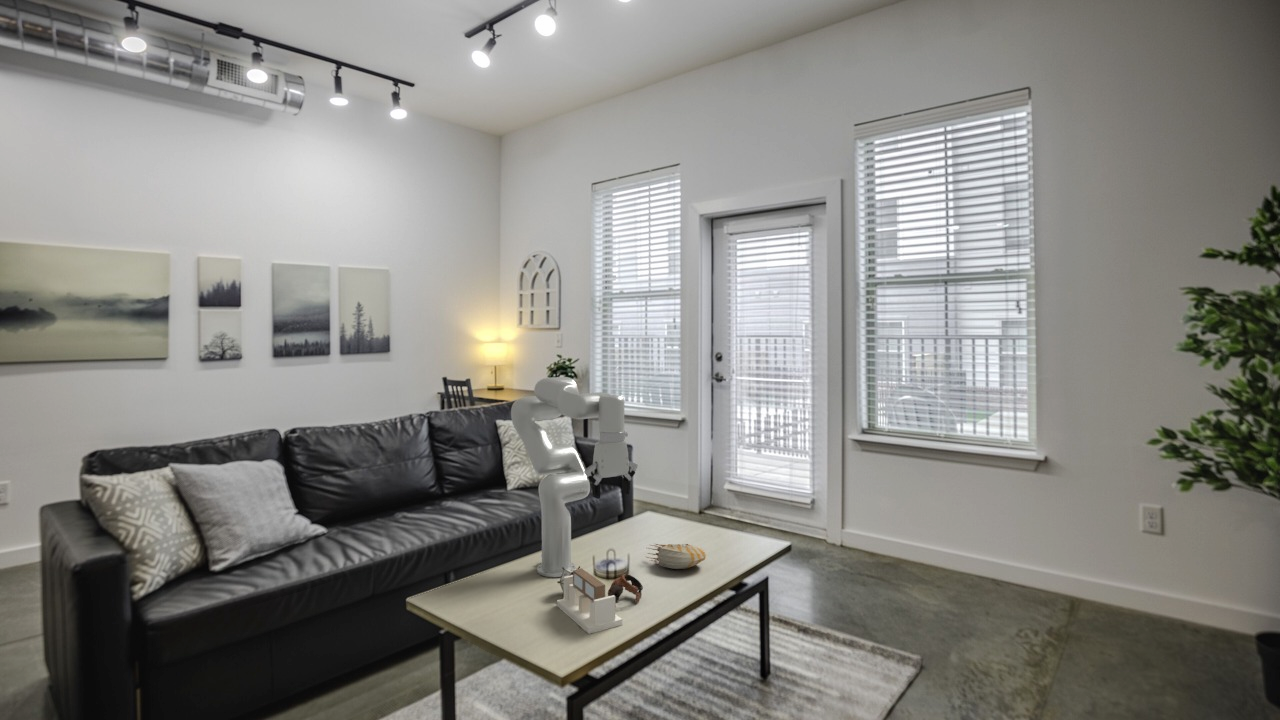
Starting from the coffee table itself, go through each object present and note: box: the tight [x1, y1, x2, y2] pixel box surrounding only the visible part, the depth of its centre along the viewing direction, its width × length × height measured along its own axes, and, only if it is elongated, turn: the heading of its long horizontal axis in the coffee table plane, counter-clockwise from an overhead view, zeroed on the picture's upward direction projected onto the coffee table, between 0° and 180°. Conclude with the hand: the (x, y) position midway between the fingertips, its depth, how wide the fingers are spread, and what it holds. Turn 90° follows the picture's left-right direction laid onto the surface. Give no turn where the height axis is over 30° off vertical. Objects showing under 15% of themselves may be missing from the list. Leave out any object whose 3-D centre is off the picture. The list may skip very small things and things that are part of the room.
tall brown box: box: [573, 567, 606, 601], centre depth 172 cm, size 14×3×4 cm, turn 32°
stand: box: [556, 575, 623, 635], centre depth 173 cm, size 20×10×8 cm, turn 32°
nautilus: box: [646, 543, 707, 570], centre depth 211 cm, size 8×22×15 cm
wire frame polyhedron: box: [556, 565, 581, 598], centre depth 186 cm, size 9×8×10 cm
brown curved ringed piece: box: [607, 573, 644, 604], centre depth 182 cm, size 12×10×8 cm
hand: (611, 495), depth 183 cm, fingers open, 9 cm apart
